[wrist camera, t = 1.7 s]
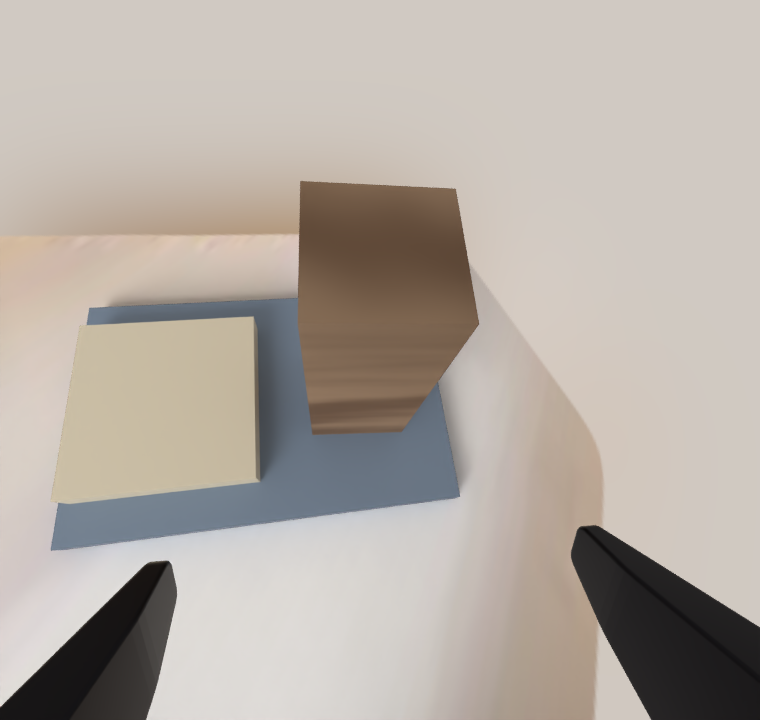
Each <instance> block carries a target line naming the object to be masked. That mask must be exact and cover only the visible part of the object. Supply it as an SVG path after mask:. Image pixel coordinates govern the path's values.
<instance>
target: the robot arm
mask: <svg viewBox="0 0 760 720" xmlns="http://www.w3.org/2000/svg"><path fill="white" fill-rule="evenodd" d="M571 559H572V562H573V565H574V567H575V570H576V572H577V574H578V576H579V579H580V581H581V583H582V586H583V588H584V590H585V592H586V595H587V597H588V599H589V601H590V604H591V606H592V608H593V610H594V613H595V615H596V617H597V620H598V622H599V624H600V626H601V628H602V630H603V632H604V634H605V636H606V638H607V640H608V642H609V643H610V645H611V647H612V649H613V651H614V653H615V655H616V656H617V658H618V660H619V662H620V664H621V665H622V667H623V669H624V671H625V673H626V675H627V676H628V678H629V680H630V682H631V684H632V685H633V687H634V689H635V691H636V693H637V695H638V696H639V698H640V700H641V702H642V704H643V705H644V707H645V709H646V711H647V713H648V714H649V716H650V718H651V720H760V627H759V626H757V625H755V624H754V623H752V622H750V621H749V620H747V619H746V618H744V617H742V616H741V615H739V614H738V613H736V612H735V611H733V610H731V609H730V608H728V607H727V606H725V605H723V604H722V603H720V602H719V601H717V600H715V599H714V598H712V597H711V596H709V595H708V594H706V593H704V592H702V591H701V590H700V589H698V588H696V587H695V586H693V585H692V584H690V583H688V582H687V581H685V580H684V579H682V578H680V577H679V576H677V575H676V574H674V573H672V572H671V571H669V570H668V569H666V568H664V567H663V566H661V565H660V564H658V563H657V562H655V561H653V560H652V559H650V558H648V557H647V556H645V555H643V554H642V553H641V552H639V551H637V550H636V549H634V548H633V547H631V546H629V545H628V544H626V543H625V542H623V541H621V540H620V539H618V538H617V537H615V536H613V535H612V534H610V533H608V532H607V531H605V530H604V529H602V528H601V527H599V526H595V525H591V526H581V527H579V528H578V530H577V533H576V536H575V540H574V543H573V547H572V551H571ZM176 599H177V587H176V583H175V578H174V573H173V569H172V565H171V563H170V562H169V561H156V562H149V563H147V564H146V565H144V566H143V567H142V568H141V569H140V570H139V571H138V572H137V573H136V574H135V575H134V576H133V577H132V578H131V579H130V580H129V581H128V582H127V583H126V584H125V585H124V586H123V587H122V588H121V589H120V590H119V591H118V592H117V593H116V594H115V595H114V596H113V597H112V598H111V599H110V600H109V601H108V602H107V603H106V604H105V605H104V606H103V607H102V608H101V609H100V610H99V611H98V612H97V613H96V614H95V615H94V616H92V617H91V618H90V619H89V620H88V621H87V622H86V623H85V624H84V625H83V626H82V627H81V628H80V629H79V630H78V631H77V632H76V633H75V634H74V635H73V636H72V637H71V638H70V639H69V640H68V641H67V642H66V643H65V644H64V645H63V646H62V647H61V648H60V649H59V650H58V651H57V652H56V653H55V654H54V655H53V656H52V657H51V658H50V659H49V660H48V661H47V662H46V663H45V664H44V665H43V666H42V667H41V668H40V669H39V670H38V671H37V672H36V673H34V674H33V675H32V676H31V677H30V678H29V679H28V680H27V681H26V682H25V683H24V684H23V685H22V686H21V687H20V688H19V689H18V690H17V691H16V692H15V693H14V694H13V695H12V696H11V697H10V698H9V699H8V700H7V701H6V702H5V703H4V704H3V705H2V706H1V707H0V720H146V718H147V715H148V712H149V709H150V706H151V703H152V700H153V696H154V693H155V690H156V686H157V683H158V679H159V674H160V670H161V666H162V661H163V657H164V653H165V648H166V644H167V639H168V635H169V631H170V626H171V622H172V617H173V613H174V608H175V604H176Z"/></svg>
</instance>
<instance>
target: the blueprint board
mask: <svg viewBox="0 0 760 720" xmlns="http://www.w3.org/2000/svg"><path fill="white" fill-rule="evenodd" d="M457 497H460V494H459V488H458V483H457V478H456V473H455V468H454V463H453V458H452V452H451V447H450V442H449V437H448V432H447V427H446V422H445V416H444V411H443V406H442V401H441V396H440V391H439V386H438V382H437V383H436V385H435V386H434V388H433V389H432V390H431V392H430V393H429V394H428V396H427V397H426V399H425V400H424V401H423V403H422V404H421V406H420V407H419V408H418V410H417V411H416V413H415V414H414V415H413V417H412V418H411V420H410V421H409V422H408V424H407V425H406V427H405V428H404V429H403V431H402V432H389V433H358V434H327V435H312V428H311V421H310V413H309V406H308V398H307V390H306V383H305V375H304V368H303V360H302V353H301V345H300V338H299V330H298V298H291V299H269V300H248V301H227V302H206V303H185V304H164V305H142V306H121V307H100V308H89V314H88V320H87V325H84V326H80V327H79V333H78V339H77V345H76V351H75V357H74V363H73V369H72V375H71V381H70V387H69V393H68V399H67V405H66V411H65V417H64V423H63V429H62V435H61V441H60V447H59V454H58V460H57V466H56V472H55V478H54V484H53V490H52V496H51V502H57V503H58V508H57V514H56V521H55V527H54V533H53V539H52V546H51V551H52V550H67V549H74V548H82V547H89V546H97V545H105V544H112V543H120V542H127V541H135V540H142V539H150V538H158V537H165V536H173V535H180V534H188V533H195V532H203V531H211V530H218V529H226V528H233V527H241V526H248V525H256V524H264V523H271V522H279V521H286V520H294V519H301V518H309V517H317V516H324V515H332V514H339V513H347V512H354V511H362V510H370V509H377V508H385V507H392V506H400V505H407V504H415V503H423V502H430V501H438V500H445V499H453V498H457Z"/></svg>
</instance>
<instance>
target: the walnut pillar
mask: <svg viewBox="0 0 760 720" xmlns="http://www.w3.org/2000/svg"><path fill="white" fill-rule="evenodd" d="M478 325H479V320H478V315H477V309H476V303H475V297H474V292H473V286H472V280H471V274H470V269H469V263H468V257H467V251H466V245H465V240H464V234H463V228H462V222H461V217H460V211H459V205H458V199H457V194H456V189H448V188H428V187H408V186H388V185H387V186H386V185H367V184H347V183H327V182H305V181H301V182H300V231H299V278H298V330H299V338H300V345H301V353H302V360H303V368H304V375H305V383H306V390H307V398H308V406H309V413H310V421H311V428H312V435H327V434H358V433H389V432H402V431H403V429H404V428H405V427H406V425H407V424H408V422H409V421H410V420H411V418H412V417H413V415H414V414H415V413H416V411H417V410H418V408H419V407H420V406H421V404H422V403H423V401H424V400H425V399H426V397H427V396H428V394H429V393H430V392H431V390H432V389H433V388H434V386H435V385H436V383H437V382H438V381H439V379H440V378H441V376H442V375H443V374H444V372H445V371H446V369H447V368H448V367H449V365H450V364H451V362H452V361H453V360H454V358H455V357H456V355H457V354H458V353H459V351H460V350H461V349H462V347H463V346H464V344H465V343H466V342H467V340H468V339H469V337H470V336H471V335H472V333H473V332H474V330H475V329H476V328H477V326H478Z"/></svg>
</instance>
